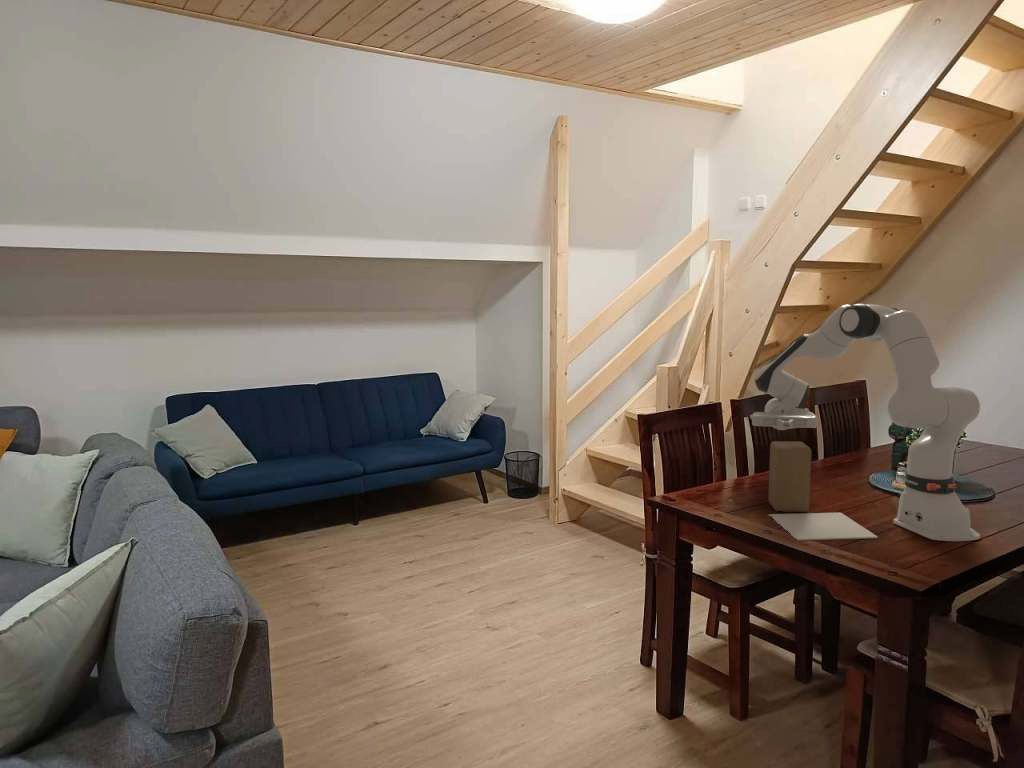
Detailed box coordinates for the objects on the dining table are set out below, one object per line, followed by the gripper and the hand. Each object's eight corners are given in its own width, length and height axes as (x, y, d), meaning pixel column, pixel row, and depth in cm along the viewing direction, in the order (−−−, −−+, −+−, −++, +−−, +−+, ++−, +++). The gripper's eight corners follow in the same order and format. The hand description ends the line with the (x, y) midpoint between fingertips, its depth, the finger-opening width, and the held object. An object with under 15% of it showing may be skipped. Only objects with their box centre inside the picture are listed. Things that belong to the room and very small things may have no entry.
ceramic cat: (885, 467, 271) (888, 414, 268) (893, 464, 275) (896, 412, 272) (942, 478, 255) (946, 421, 253) (950, 475, 259) (954, 419, 256)
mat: (877, 538, 198) (877, 536, 198) (797, 540, 198) (797, 538, 197) (840, 513, 219) (840, 512, 219) (767, 515, 218) (767, 514, 218)
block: (800, 503, 230) (802, 440, 227) (809, 513, 220) (812, 448, 217) (767, 502, 231) (769, 440, 228) (775, 512, 221) (777, 447, 218)
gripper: (749, 406, 251) (753, 414, 238) (813, 408, 246) (820, 416, 233) (748, 424, 252) (752, 433, 239) (812, 426, 247) (819, 435, 234)
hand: (786, 424), depth 236 cm, fingers closed
